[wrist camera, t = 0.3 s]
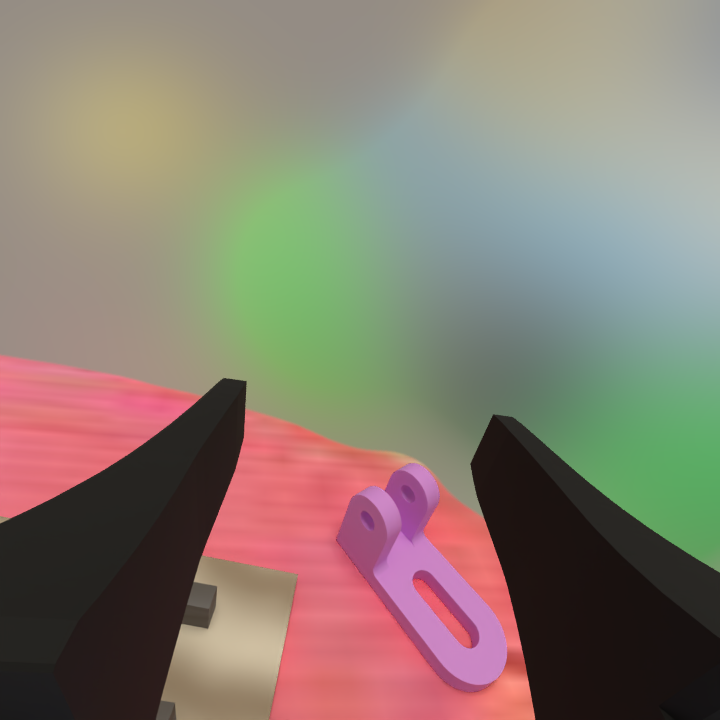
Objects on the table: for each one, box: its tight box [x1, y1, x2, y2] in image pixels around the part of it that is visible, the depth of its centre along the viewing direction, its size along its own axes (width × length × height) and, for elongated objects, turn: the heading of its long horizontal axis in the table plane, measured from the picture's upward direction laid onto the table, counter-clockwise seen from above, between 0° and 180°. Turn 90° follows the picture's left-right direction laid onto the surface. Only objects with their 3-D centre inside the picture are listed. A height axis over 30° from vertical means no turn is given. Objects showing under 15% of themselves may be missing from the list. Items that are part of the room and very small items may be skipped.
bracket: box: [336, 463, 507, 692], centre depth 26 cm, size 13×6×7 cm, turn 40°
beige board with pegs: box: [0, 516, 298, 720], centre depth 20 cm, size 12×20×4 cm, turn 86°
